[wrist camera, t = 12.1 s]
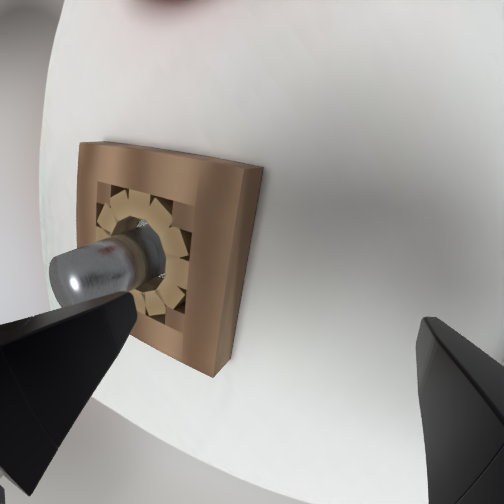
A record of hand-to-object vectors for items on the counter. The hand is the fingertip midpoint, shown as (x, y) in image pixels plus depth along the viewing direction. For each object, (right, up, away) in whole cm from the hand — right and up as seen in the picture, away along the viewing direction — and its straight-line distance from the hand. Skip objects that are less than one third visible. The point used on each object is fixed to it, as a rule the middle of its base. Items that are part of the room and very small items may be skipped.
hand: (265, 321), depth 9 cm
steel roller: (-8, +2, +18) cm, 20 cm away
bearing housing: (-8, +3, +18) cm, 20 cm away
